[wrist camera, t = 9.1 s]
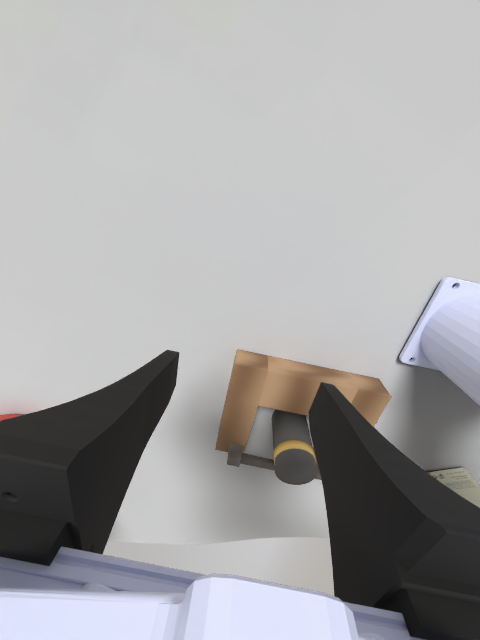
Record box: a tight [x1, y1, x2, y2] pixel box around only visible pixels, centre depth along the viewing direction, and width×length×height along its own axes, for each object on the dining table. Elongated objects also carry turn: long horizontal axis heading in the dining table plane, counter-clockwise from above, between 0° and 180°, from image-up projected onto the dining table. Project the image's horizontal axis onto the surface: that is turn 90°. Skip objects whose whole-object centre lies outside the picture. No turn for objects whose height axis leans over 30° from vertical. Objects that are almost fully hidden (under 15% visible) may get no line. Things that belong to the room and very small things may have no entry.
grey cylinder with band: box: [272, 409, 317, 485], centre depth 24 cm, size 4×4×6 cm
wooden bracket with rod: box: [215, 349, 391, 480], centre depth 24 cm, size 14×11×4 cm
